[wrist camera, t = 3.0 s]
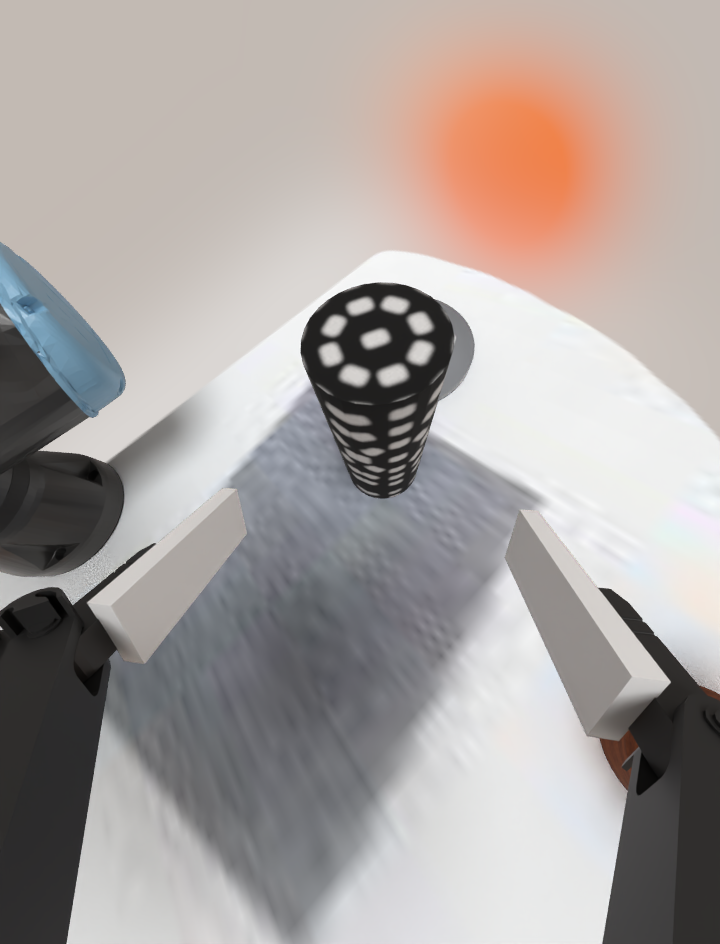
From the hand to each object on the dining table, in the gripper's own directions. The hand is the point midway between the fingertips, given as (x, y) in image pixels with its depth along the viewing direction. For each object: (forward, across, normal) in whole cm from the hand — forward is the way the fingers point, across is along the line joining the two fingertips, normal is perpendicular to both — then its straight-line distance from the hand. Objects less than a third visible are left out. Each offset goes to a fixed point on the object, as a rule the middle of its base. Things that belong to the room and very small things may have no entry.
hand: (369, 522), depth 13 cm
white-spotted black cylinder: (+20, 0, -6) cm, 21 cm away
